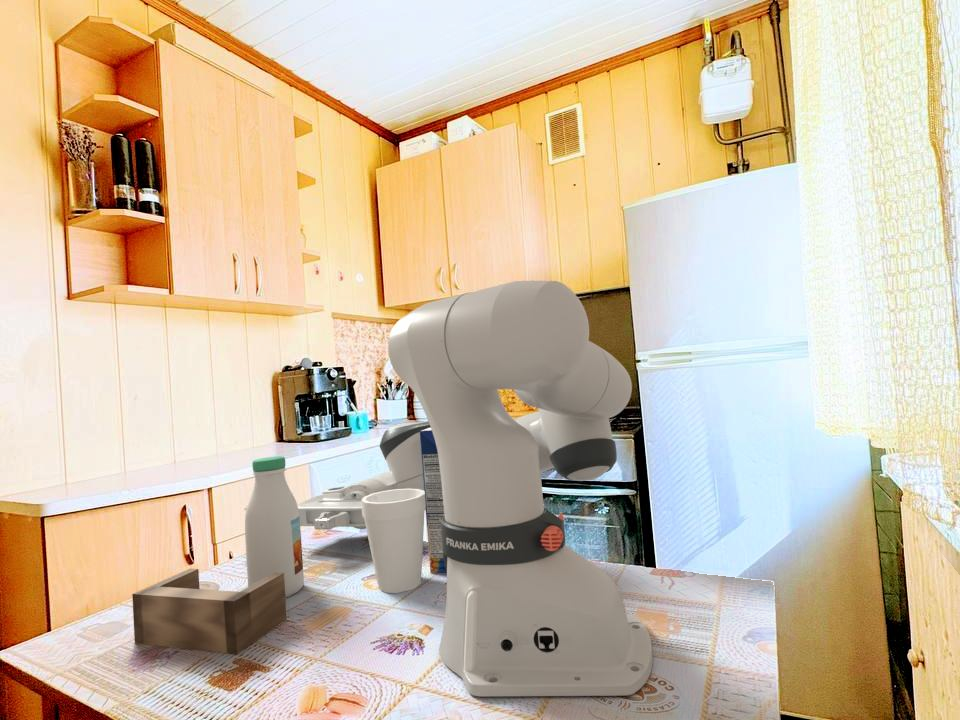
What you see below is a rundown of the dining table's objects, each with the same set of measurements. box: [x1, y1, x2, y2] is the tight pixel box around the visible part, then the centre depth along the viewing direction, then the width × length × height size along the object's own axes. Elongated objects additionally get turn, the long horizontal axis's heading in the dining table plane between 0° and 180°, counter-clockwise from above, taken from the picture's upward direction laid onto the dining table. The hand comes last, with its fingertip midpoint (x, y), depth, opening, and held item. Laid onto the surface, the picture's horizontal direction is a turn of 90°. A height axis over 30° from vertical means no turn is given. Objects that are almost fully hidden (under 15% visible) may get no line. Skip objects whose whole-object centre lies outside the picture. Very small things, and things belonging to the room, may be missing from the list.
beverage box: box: [420, 428, 447, 574], centre depth 82 cm, size 7×11×22 cm, turn 166°
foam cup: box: [361, 489, 426, 594], centre depth 74 cm, size 10×9×13 cm
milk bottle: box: [244, 455, 305, 598], centre depth 75 cm, size 8×8×20 cm
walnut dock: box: [131, 568, 288, 655], centre depth 64 cm, size 16×8×6 cm, turn 72°
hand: (321, 525), depth 86 cm, fingers closed
